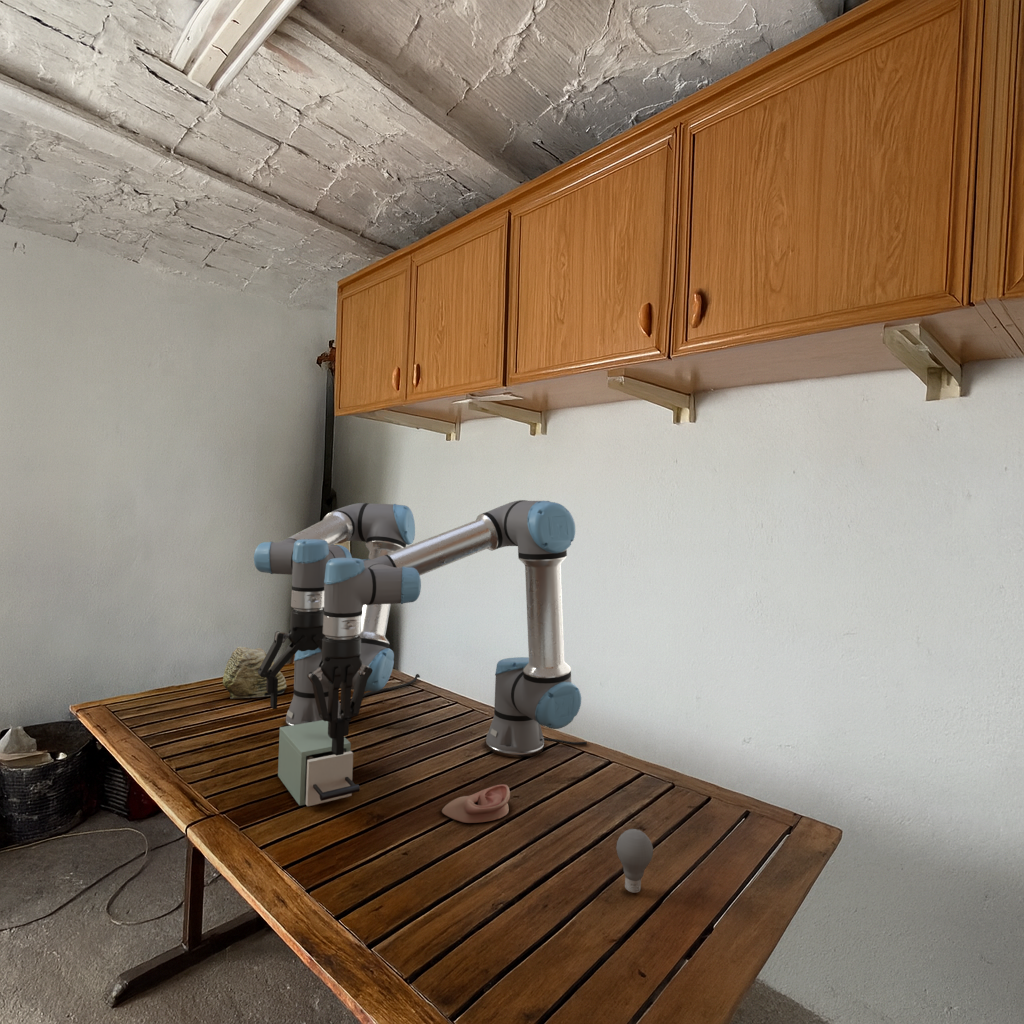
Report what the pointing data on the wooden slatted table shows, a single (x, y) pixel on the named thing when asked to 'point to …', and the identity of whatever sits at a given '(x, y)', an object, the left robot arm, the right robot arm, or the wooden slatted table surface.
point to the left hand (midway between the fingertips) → (305, 702)
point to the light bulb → (634, 857)
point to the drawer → (329, 777)
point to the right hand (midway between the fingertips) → (337, 752)
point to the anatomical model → (480, 805)
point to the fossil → (248, 674)
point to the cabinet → (301, 753)
